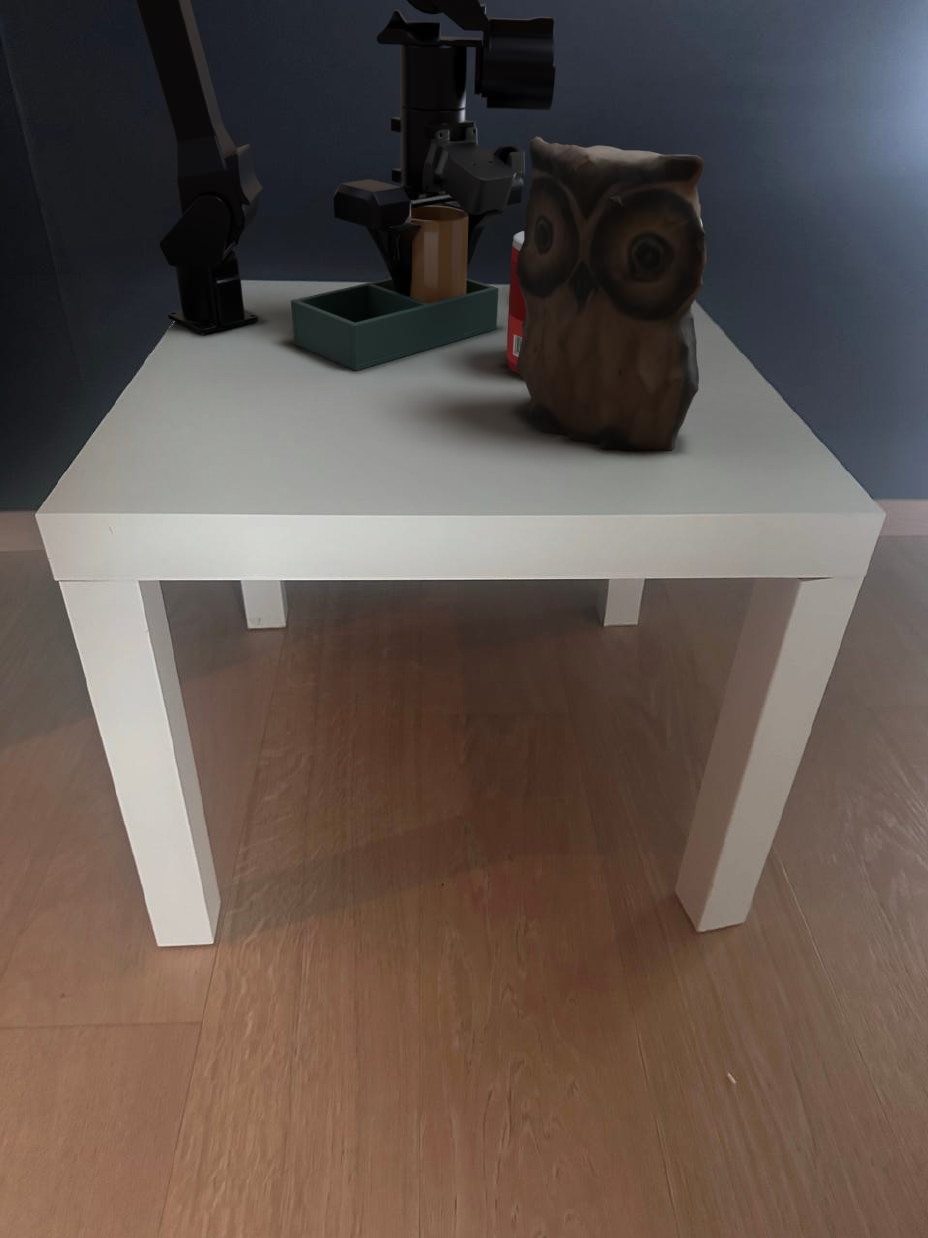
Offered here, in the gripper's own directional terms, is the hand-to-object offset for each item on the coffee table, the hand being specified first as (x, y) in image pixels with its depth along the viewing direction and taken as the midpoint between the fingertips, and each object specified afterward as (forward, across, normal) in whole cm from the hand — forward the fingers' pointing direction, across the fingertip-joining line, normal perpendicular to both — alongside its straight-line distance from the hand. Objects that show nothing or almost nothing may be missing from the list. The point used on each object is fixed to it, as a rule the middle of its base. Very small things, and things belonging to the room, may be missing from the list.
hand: (431, 290), depth 89 cm
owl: (+4, -4, -26) cm, 27 cm away
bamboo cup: (+2, 0, 0) cm, 2 cm away
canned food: (+4, +1, -15) cm, 15 cm away
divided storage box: (+4, -4, 0) cm, 6 cm away
